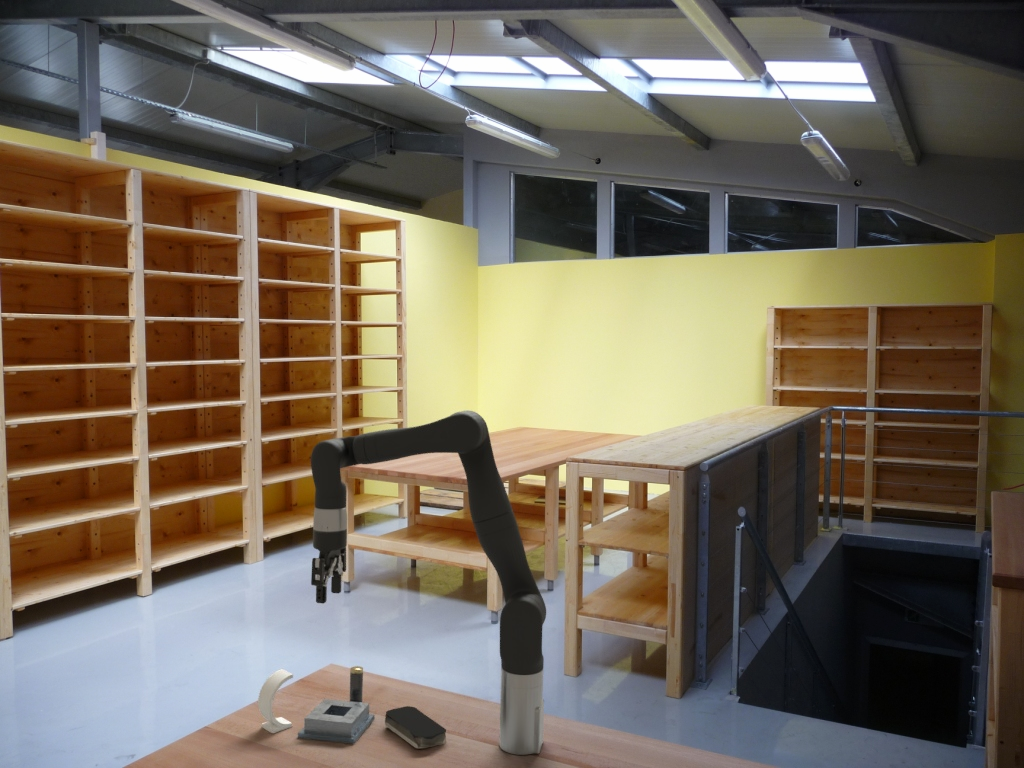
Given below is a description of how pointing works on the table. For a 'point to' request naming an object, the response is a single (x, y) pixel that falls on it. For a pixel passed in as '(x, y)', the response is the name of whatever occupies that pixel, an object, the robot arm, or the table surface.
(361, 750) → the table surface
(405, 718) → the black sponge
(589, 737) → the table surface
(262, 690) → the headphone stand
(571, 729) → the table surface
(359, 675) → the brass pin
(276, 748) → the table surface
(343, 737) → the square hole socket
